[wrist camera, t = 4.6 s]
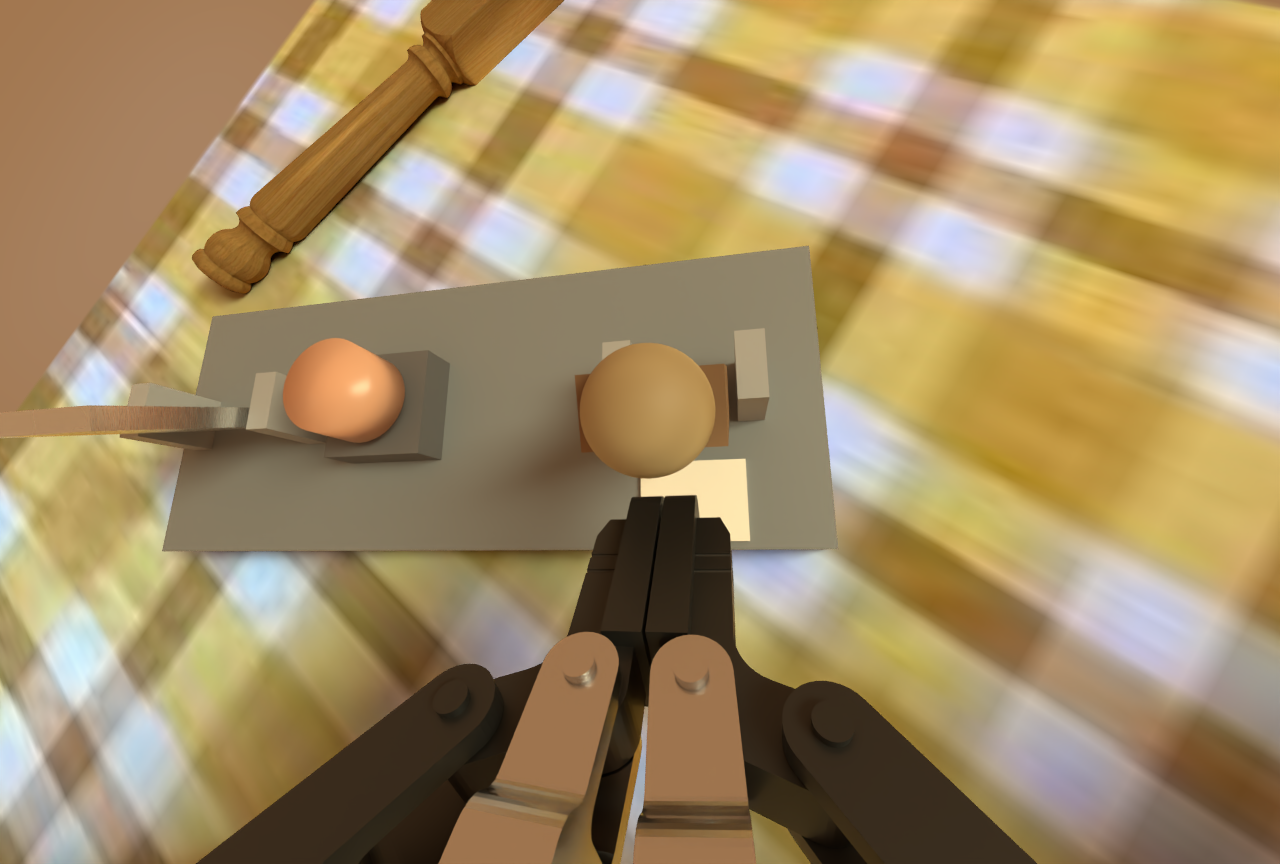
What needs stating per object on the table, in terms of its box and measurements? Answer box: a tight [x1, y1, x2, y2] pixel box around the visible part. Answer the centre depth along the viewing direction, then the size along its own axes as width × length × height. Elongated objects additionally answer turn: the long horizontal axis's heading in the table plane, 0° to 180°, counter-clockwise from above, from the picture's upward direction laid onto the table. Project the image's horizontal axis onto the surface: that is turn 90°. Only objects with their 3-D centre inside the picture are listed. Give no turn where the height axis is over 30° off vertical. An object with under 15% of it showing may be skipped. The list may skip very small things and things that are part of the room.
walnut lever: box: [575, 343, 729, 479], centre depth 13 cm, size 3×3×11 cm
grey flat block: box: [0, 406, 250, 438], centre depth 19 cm, size 1×5×7 cm, turn 89°
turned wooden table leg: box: [192, 0, 564, 293], centre depth 27 cm, size 3×3×30 cm
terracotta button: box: [283, 338, 405, 443], centre depth 19 cm, size 4×4×2 cm
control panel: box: [120, 246, 838, 551], centre depth 21 cm, size 12×30×5 cm, turn 90°
